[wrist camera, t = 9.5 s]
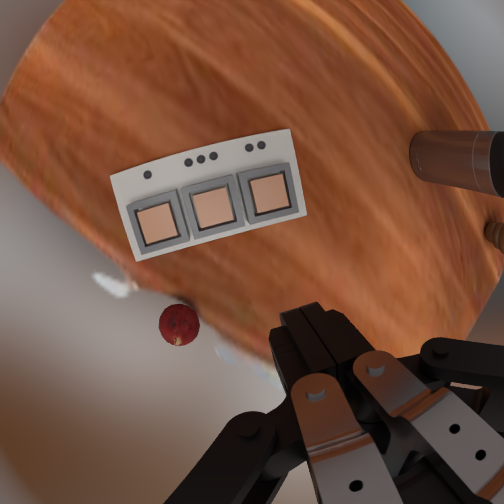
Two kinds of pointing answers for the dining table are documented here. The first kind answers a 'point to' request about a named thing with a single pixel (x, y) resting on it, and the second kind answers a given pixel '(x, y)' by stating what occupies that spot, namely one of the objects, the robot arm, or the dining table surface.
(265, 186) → the button two
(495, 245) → the cat ice cream
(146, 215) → the button one
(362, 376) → the robot arm
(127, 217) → the button panel
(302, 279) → the dining table surface
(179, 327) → the onion
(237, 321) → the dining table surface
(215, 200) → the button three
